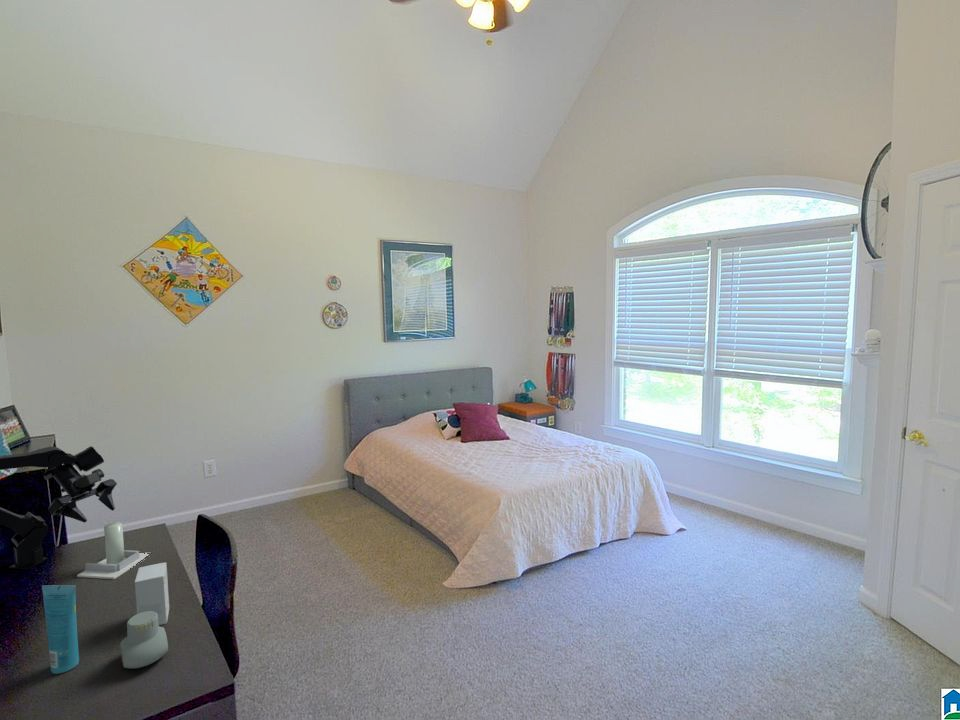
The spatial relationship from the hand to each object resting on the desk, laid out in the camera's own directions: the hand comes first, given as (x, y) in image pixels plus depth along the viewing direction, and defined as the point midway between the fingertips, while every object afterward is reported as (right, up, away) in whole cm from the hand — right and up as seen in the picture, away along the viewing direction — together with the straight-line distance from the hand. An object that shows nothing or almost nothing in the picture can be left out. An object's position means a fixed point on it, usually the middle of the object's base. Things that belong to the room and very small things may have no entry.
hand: (100, 515), depth 160 cm
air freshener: (+46, -19, -46) cm, 68 cm away
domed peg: (+9, -14, -5) cm, 17 cm away
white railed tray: (+9, -14, -5) cm, 17 cm away
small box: (+38, -17, -31) cm, 53 cm away
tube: (+30, -19, -49) cm, 60 cm away
